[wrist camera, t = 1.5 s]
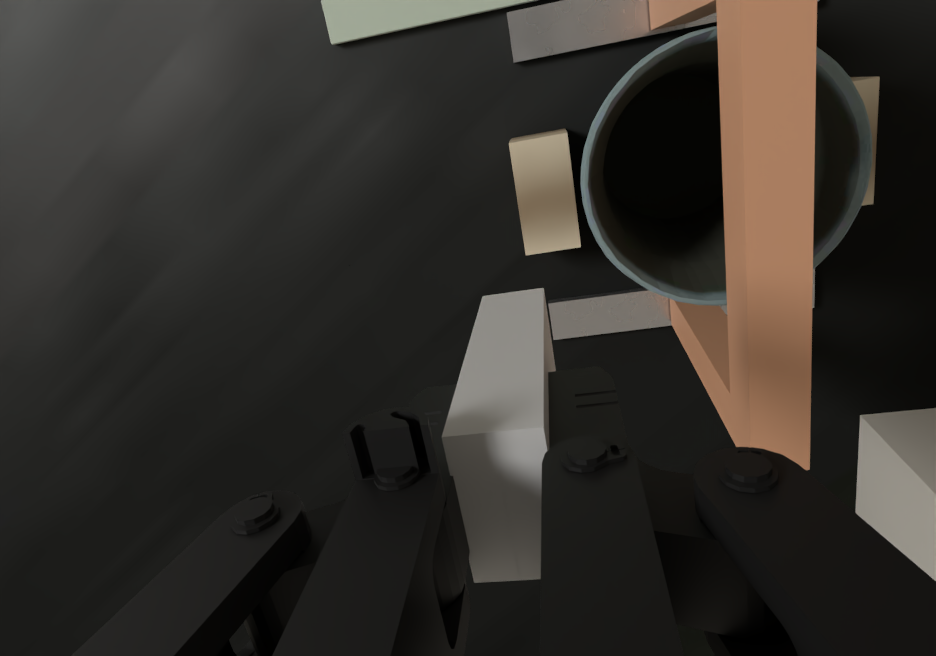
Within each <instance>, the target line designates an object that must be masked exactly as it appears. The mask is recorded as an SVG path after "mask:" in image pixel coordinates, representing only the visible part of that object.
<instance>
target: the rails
mask: <svg viewBox="0 0 936 656" xmlns="http://www.w3.org/2000/svg"><path fill="white" fill-rule="evenodd" d="M817 1H820V0H817ZM507 18H508V25H509V32H510V39H511V46H512V53H513V60H514V63H516V62H521V61H526V60H531V59H536V58H541V57H546V56H551V55H556V54H561V53H566V52H571V51H576V50H581V49H586V48H591V47H596V46H601V45H606V44H610V43H615V42H620V41H625V40H630V39H635V38H640V37H645V36H650V35H655V34H660V33H665V32H670V31H675V30H680V29H685V28H690V27H695V26H700V25H705V24H710V23H715V22H717V12H716V13H713V14H711V15H708V16H706V17H703V18H701V19H698V20H696V21H693V22H689V23H684V24H679V25H675V26H670V27H665V28H660V29H655V30H651V25H650V11H649V0H562V1H558V2H553V3H549V4H544V5H539V6H535V7H530V8H525V9H521V10H516V11H512V12H507ZM814 298H815V268H814V269H813V292H812V308H814ZM548 304H549V311H550V318H551V325H552V332H553V339H554V340H557V339H565V338H573V337H582V336H590V335H598V334H606V333H614V332H622V331H630V330H638V329H646V328H655V327H663V326H671V325H672V324H671V310H670V299H669V298H667V297H664V296H661V295H659V294H656V293H653V292H651V291H649V290H648V289H646V288H645V287H644V288H637V289H629V290H622V291H614V292H607V293H599V294H592V295H585V296H577V297H570V298H562V299H555V300H548ZM720 307H721V309H722V310H723V311H724V312H725V314H726V315H727V305H723V306H720Z"/></svg>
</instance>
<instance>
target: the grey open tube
mask: <svg viewBox="0 0 936 656" xmlns="http://www.w3.org/2000/svg"><path fill="white" fill-rule="evenodd" d="M871 167H872V134H871V127H870V122H869V118H868V115H867V111H866V108H865V105H864V102H863V100H862V98H861V96H860V94H859V93H858V91H857V89H856V87H855V85H854V83H853V82H852V80H851V78H850V77H849V76H848V74H847V73H846V72H845V71H844V70H843V68H842V67H841V66H840V65H839V64H838V63H837V62H836V61H835V60H834V59H833V58H831V57H830V56H829V55H827V54H826V53H825V52H823V51H822V50H821V49H819V48H818V47H817V46H816V103H815V166H814V229H813V269H814V268H815V267H817V266H818V265H819V264H820V263H821V262H822V261H823V260H824V259H825V258H826V257H827V256H828V255H829V254H830V253H831V252H832V250H833V249H834V248H835V247H836V246H837V245H838V244H839V243H840V241H841V240H842V239H843V237H844V236H845V235H846V233H847V232H848V230H849V228H850V226H851V225H852V223H853V221H854V219H855V217H856V216H857V214H858V212H859V210H860V208H861V206H862V203H863V200H864V197H865V194H866V191H867V188H868V184H869V178H870V173H871ZM580 184H581V193H582V201H583V206H584V210H585V213H586V217H587V221H588V224H589V226H590V228H591V231H592V233H593V235H594V237H595V239H596V241H597V243H598V244H599V246H600V248H601V249H602V251H603V252H604V254H605V255H606V257H607V258H608V259H609V260H610V261H611V262H612V263H613V264H614V265H615V266H616V267H617V268H618V269H619V270H620V271H621V272H623V273H624V274H625V275H627V276H628V277H630V278H631V279H633V280H634V281H635V282H637V283H638V284H640V285H641V286H643V287H645V288H646V289H648V290H649V291H651V292H653V293H656V294H659V295H661V296H664V297H667V298H669V299H672V300H675V301H678V302H683V303H689V304H695V305H712V306H723V305H727V291H726V263H725V235H724V207H723V179H722V151H721V123H720V95H719V67H718V39H717V26H714V27H710V28H706V29H702V30H698V31H694V32H690V33H688V34H686V35H683V36H681V37H678V38H676V39H674V40H671V41H670V42H668V43H666V44H664V45H663V46H661V47H659V48H657V49H656V50H654V51H653V52H652V53H650V54H649V55H647V56H646V57H644V58H643V59H642V60H640V61H639V62H638V63H637V64H636V65H635V66H634V67H633V68H631V69H630V70H629V71H628V72H627V73H626V74H625V75H624V76H623V78H622V79H621V80H620V81H619V82H618V83H617V84H616V86H615V87H614V88H613V89H612V91H611V92H610V93H609V95H608V96H607V98H606V99H605V101H604V102H603V104H602V106H601V107H600V109H599V111H598V113H597V115H596V117H595V119H594V120H593V122H592V125H591V128H590V131H589V134H588V137H587V140H586V143H585V146H584V151H583V157H582V164H581V183H580Z"/></svg>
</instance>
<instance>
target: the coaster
mask: <svg viewBox="0 0 936 656" xmlns="http://www.w3.org/2000/svg"><path fill="white" fill-rule="evenodd" d="M534 1H538V0H321V3H322V7H323V11H324V15H325V20H326V24H327V28H328V32H329V37H330V41H331V44H333V45H336V44H341V43H345V42H350V41H355V40H359V39H364V38H368V37H373V36H377V35H382V34H387V33H391V32H396V31H400V30H405V29H410V28H414V27H419V26H423V25H428V24H433V23H437V22H442V21H446V20H451V19H456V18H460V17H465V16H469V15H474V14H479V13H483V12H488V11H492V10H497V9H501V8H506V7H511V6H515V5H520V4H524V3H529V2H534Z"/></svg>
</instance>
